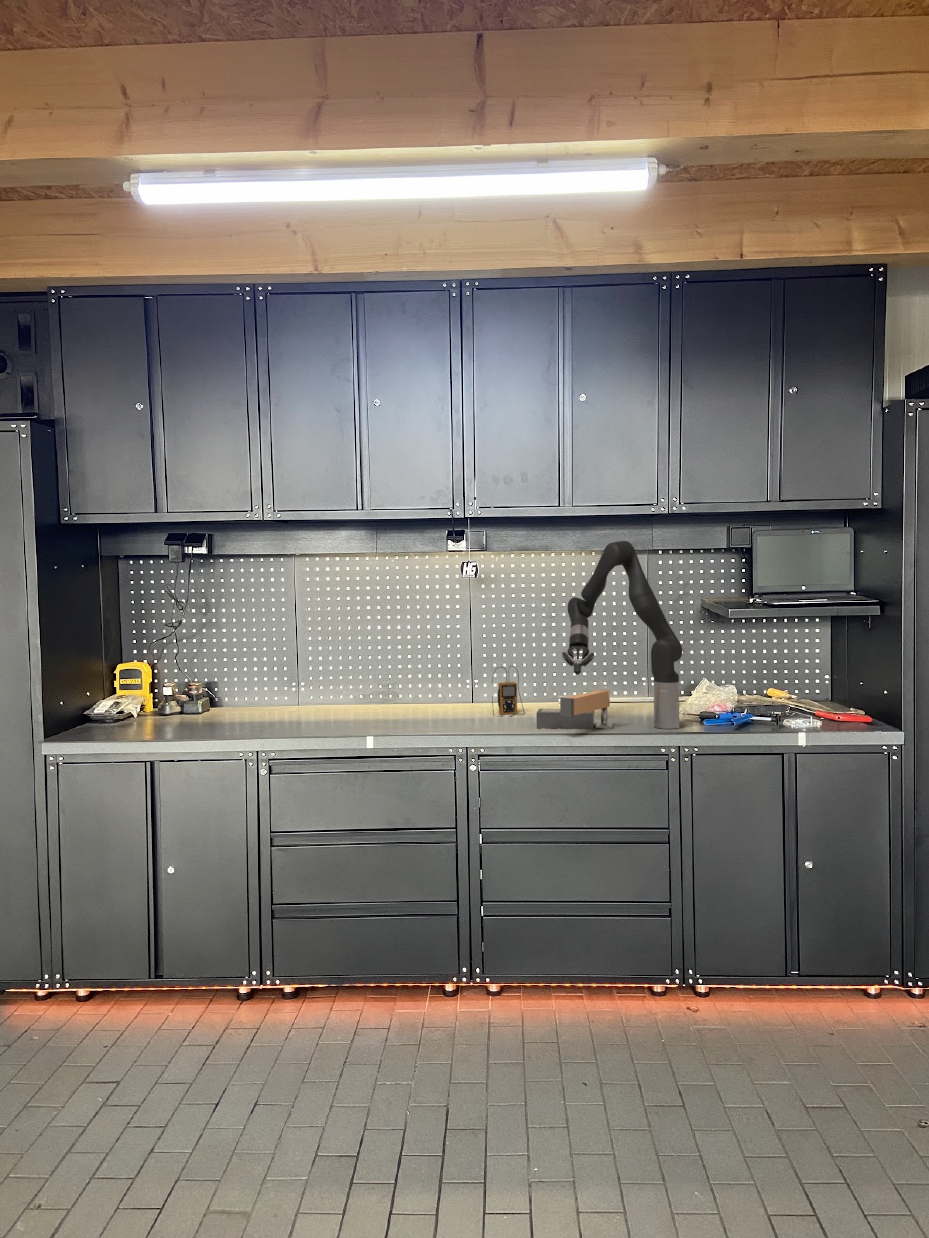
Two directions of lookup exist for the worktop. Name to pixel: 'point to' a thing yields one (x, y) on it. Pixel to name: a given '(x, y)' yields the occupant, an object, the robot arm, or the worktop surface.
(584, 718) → the dark grey brick
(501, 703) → the multimeter
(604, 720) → the hinge post
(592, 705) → the bar
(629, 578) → the robot arm
